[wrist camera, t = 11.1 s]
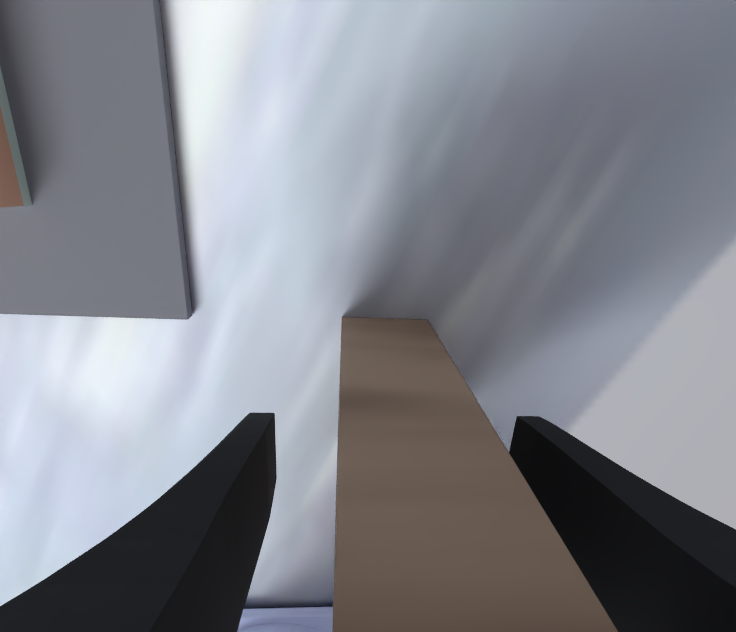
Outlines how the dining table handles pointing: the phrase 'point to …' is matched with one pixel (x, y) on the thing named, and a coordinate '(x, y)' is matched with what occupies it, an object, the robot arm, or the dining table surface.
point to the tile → (10, 159)
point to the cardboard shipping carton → (437, 503)
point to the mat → (91, 163)
